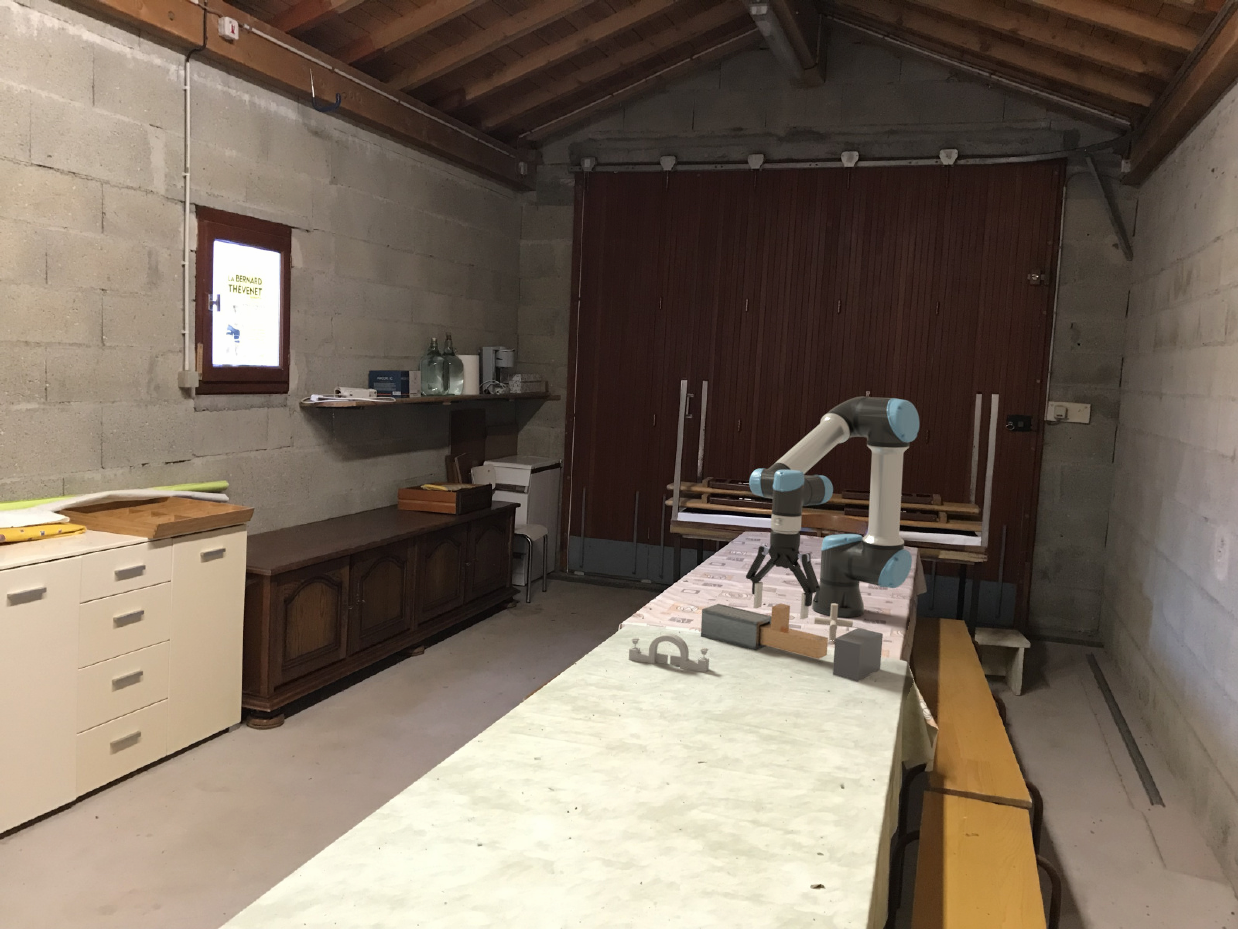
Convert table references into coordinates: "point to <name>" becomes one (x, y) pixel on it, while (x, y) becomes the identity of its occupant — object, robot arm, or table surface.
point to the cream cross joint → (833, 622)
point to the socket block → (857, 654)
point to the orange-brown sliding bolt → (790, 635)
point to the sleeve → (733, 626)
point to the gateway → (675, 660)
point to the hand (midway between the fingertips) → (780, 612)
